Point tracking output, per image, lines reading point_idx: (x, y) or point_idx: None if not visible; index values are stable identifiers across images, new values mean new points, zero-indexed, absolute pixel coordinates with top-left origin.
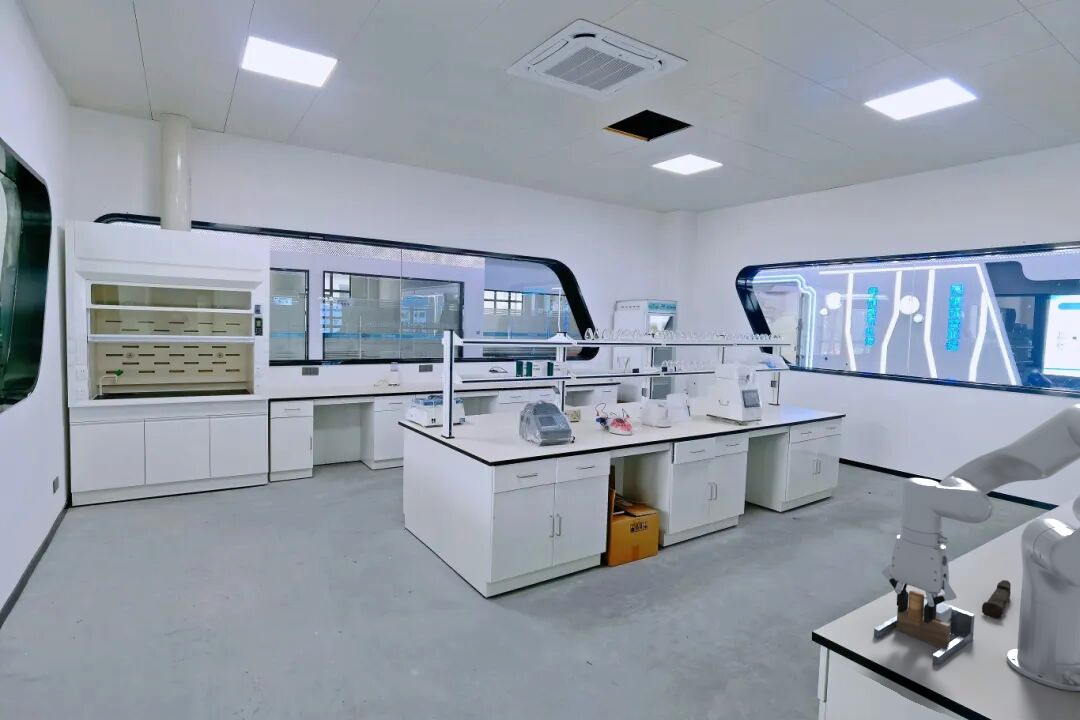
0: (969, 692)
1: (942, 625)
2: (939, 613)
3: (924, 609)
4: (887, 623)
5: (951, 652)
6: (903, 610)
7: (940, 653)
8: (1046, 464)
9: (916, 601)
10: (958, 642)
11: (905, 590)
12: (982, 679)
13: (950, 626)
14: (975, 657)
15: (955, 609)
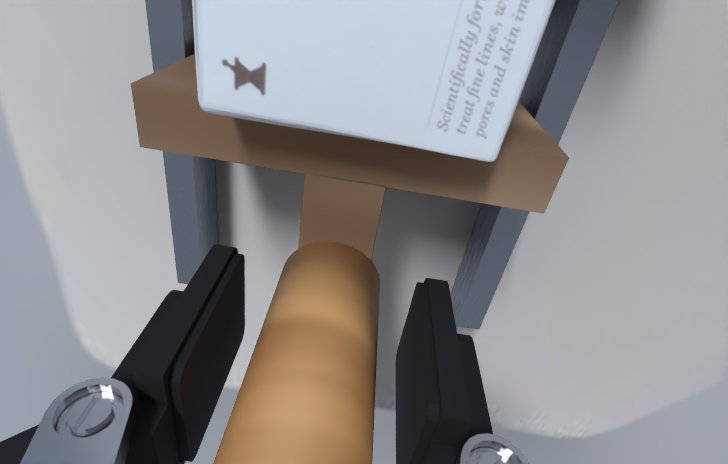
0: (578, 377)
1: (503, 202)
2: (486, 158)
3: (397, 451)
4: (182, 177)
5: None
6: (240, 318)
7: (485, 294)
8: None
9: None
10: (581, 88)
11: (145, 448)
12: (643, 272)
13: (561, 152)
14: (654, 68)
15: None
